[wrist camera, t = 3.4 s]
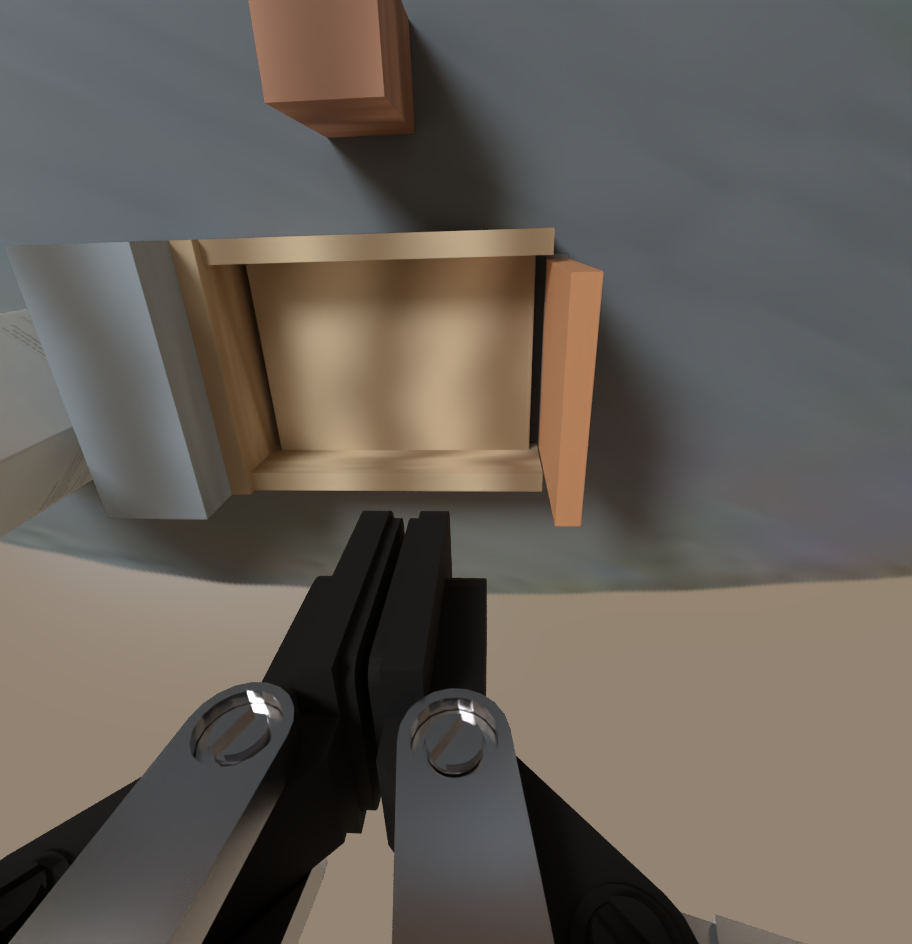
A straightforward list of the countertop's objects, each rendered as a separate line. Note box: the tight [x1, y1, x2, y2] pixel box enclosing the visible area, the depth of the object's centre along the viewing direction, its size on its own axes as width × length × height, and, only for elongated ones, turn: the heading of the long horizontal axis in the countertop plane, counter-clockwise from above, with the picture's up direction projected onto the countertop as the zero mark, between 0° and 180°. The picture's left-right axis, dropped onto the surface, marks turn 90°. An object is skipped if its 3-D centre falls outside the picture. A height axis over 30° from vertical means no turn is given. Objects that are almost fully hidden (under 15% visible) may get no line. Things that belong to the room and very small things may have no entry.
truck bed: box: [4, 228, 555, 519], centre depth 24 cm, size 21×12×7 cm, turn 92°
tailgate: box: [538, 253, 604, 526], centre depth 22 cm, size 1×10×9 cm, turn 2°
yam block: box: [248, 0, 415, 138], centre depth 19 cm, size 4×4×7 cm
